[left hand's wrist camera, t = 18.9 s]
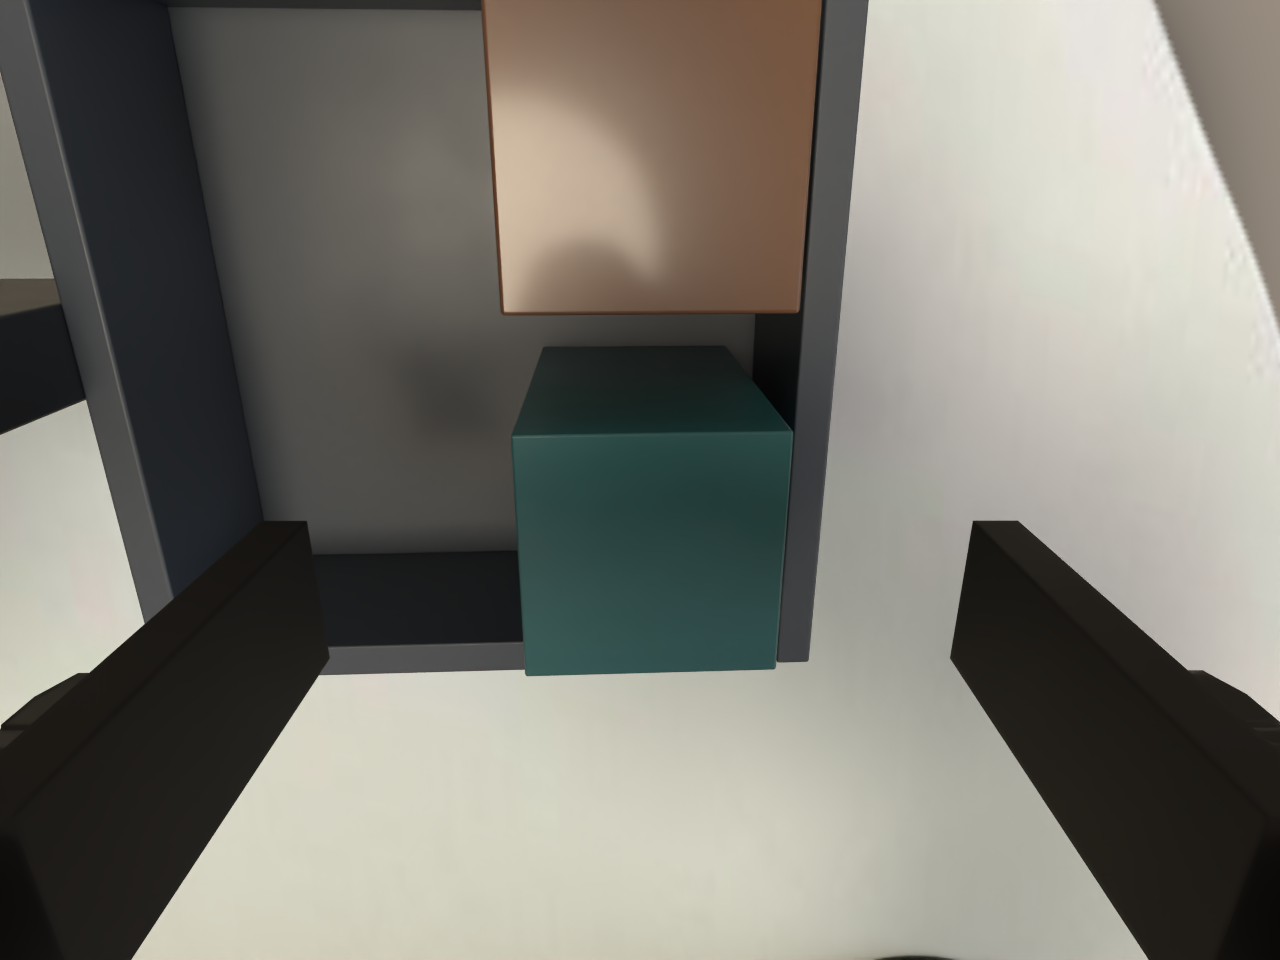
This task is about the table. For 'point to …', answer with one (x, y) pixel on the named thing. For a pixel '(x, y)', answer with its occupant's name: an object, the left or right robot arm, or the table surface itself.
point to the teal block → (649, 512)
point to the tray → (339, 303)
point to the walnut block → (650, 153)
